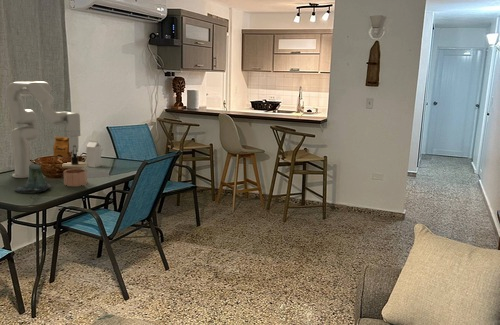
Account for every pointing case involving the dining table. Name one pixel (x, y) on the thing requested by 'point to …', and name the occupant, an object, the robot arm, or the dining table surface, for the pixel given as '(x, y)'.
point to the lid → (74, 165)
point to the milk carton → (93, 154)
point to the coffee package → (61, 147)
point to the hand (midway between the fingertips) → (74, 162)
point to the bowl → (75, 177)
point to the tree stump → (34, 181)
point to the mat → (97, 174)
